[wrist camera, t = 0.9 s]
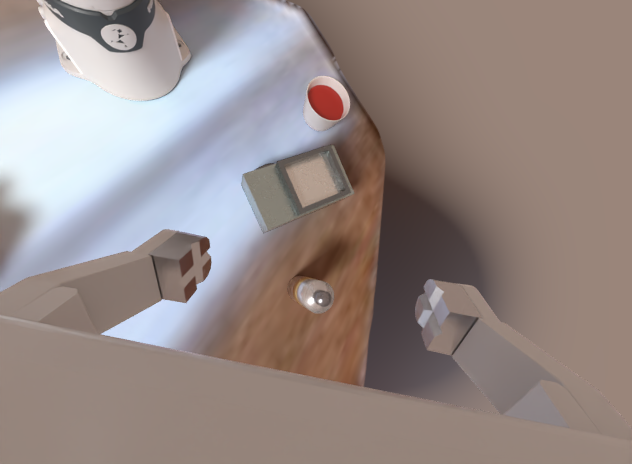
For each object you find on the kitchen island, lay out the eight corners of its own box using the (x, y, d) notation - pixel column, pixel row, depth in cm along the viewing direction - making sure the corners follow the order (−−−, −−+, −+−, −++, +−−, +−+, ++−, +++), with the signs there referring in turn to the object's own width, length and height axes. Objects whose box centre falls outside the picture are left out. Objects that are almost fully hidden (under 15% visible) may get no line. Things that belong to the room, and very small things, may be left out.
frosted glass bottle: (282, 282, 45) (302, 291, 33) (305, 271, 47) (331, 275, 35) (293, 305, 45) (316, 323, 33) (315, 293, 47) (345, 305, 35)
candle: (324, 92, 53) (336, 71, 47) (343, 129, 53) (357, 113, 47) (290, 103, 50) (298, 82, 44) (310, 142, 50) (321, 127, 44)
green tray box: (239, 181, 44) (241, 166, 37) (320, 154, 51) (336, 137, 43) (263, 233, 45) (269, 228, 38) (340, 200, 51) (359, 190, 44)
